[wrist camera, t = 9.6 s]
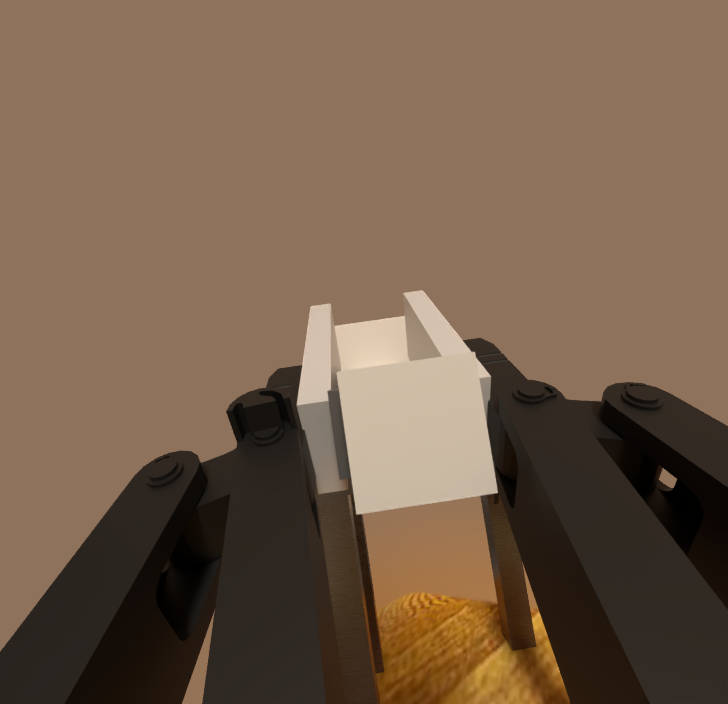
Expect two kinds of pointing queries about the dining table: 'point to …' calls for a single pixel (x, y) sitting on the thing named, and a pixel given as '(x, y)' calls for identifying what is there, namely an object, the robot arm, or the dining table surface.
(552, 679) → the dining table surface
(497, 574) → the rail stand
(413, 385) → the bar
